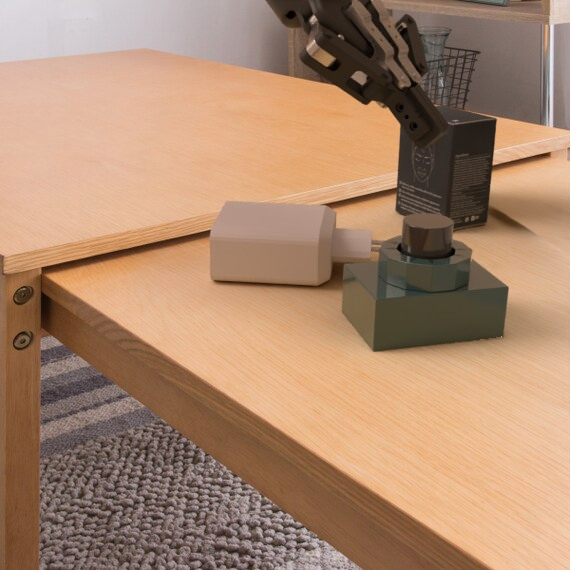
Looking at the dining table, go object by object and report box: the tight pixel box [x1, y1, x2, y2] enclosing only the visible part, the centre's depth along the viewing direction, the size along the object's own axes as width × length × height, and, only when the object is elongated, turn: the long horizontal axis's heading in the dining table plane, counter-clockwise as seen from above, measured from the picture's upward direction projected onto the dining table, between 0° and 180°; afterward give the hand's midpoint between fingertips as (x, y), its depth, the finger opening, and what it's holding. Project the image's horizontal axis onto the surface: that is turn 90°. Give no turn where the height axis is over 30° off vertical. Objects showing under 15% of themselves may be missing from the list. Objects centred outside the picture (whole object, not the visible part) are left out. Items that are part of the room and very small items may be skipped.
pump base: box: [341, 234, 510, 353], centre depth 68 cm, size 10×7×6 cm
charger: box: [209, 200, 385, 287], centre depth 78 cm, size 5×9×15 cm
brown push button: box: [401, 213, 454, 260], centre depth 66 cm, size 4×4×2 cm
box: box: [395, 104, 498, 231], centre depth 91 cm, size 8×6×11 cm
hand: (435, 139), depth 63 cm, fingers closed
